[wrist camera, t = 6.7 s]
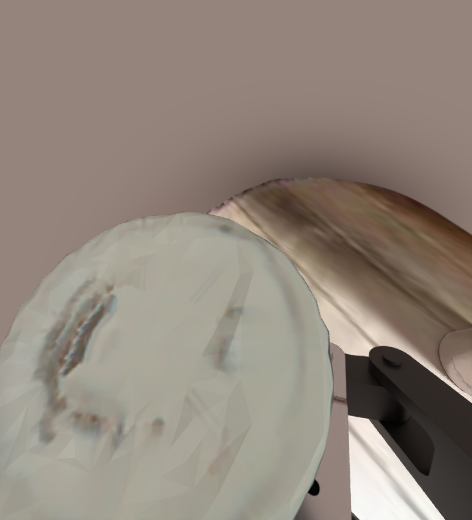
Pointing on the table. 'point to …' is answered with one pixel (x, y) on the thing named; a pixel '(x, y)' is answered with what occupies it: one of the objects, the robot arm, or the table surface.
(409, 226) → the table surface
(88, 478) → the sauce bottle
